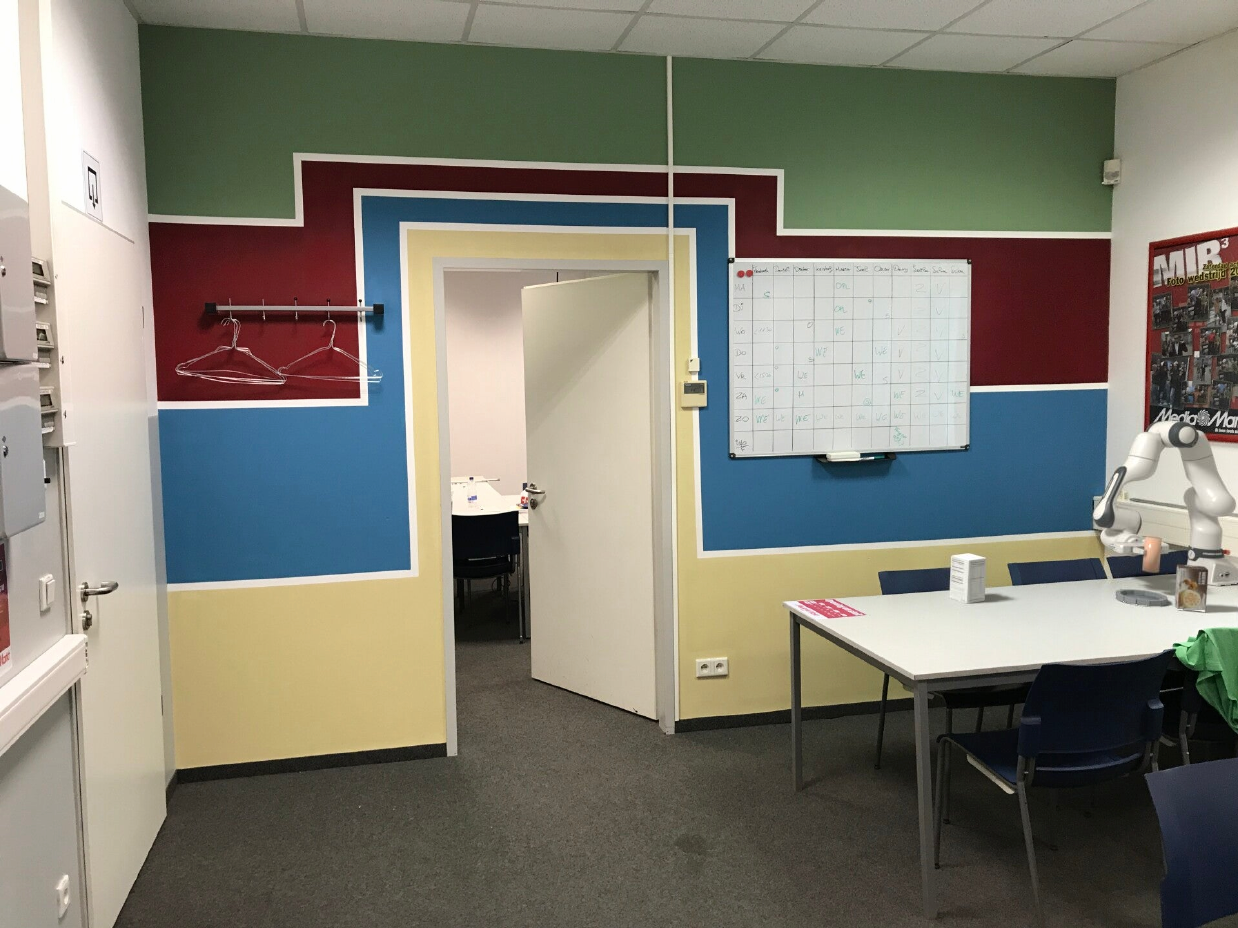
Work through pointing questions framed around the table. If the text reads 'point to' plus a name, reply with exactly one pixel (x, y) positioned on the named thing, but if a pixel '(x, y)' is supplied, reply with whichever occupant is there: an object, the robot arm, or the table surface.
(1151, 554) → the peach cylinder
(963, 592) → the supplement box
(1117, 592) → the tray
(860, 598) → the table surface
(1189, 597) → the coffee box
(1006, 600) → the table surface
